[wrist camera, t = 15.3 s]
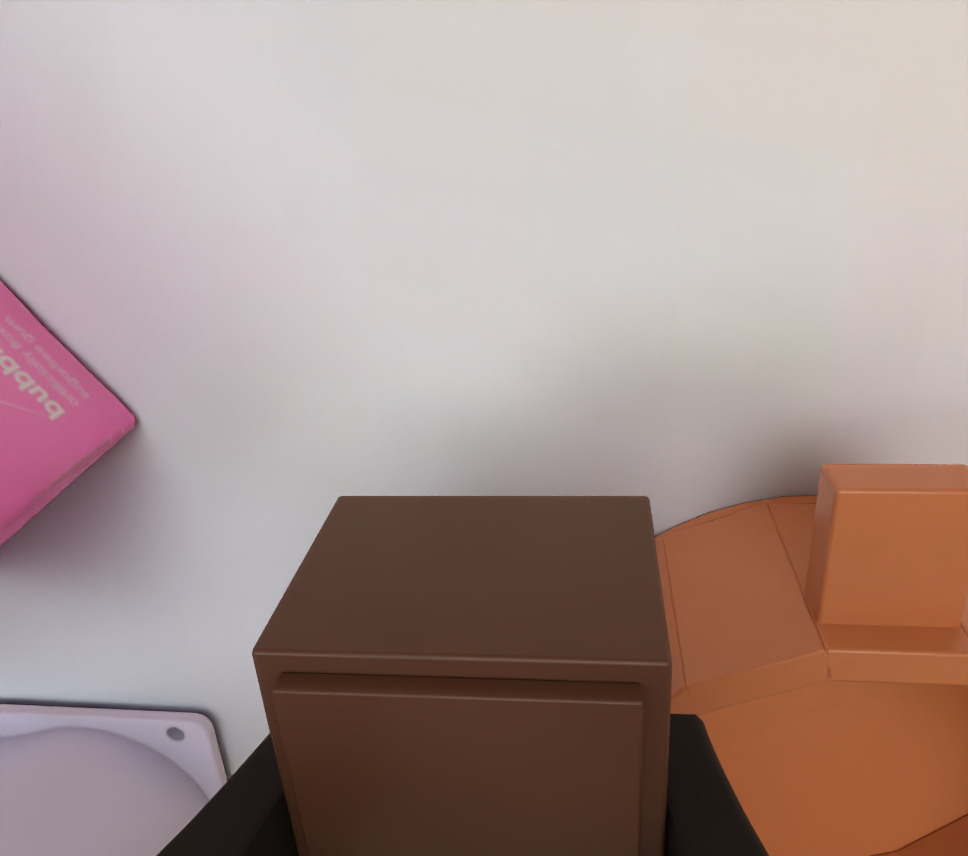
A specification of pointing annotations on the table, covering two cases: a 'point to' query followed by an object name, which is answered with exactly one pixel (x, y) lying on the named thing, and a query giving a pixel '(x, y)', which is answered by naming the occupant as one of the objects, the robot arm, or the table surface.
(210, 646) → the table surface
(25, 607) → the table surface
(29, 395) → the gum box
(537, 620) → the chocolate bar
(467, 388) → the table surface
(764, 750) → the pan
